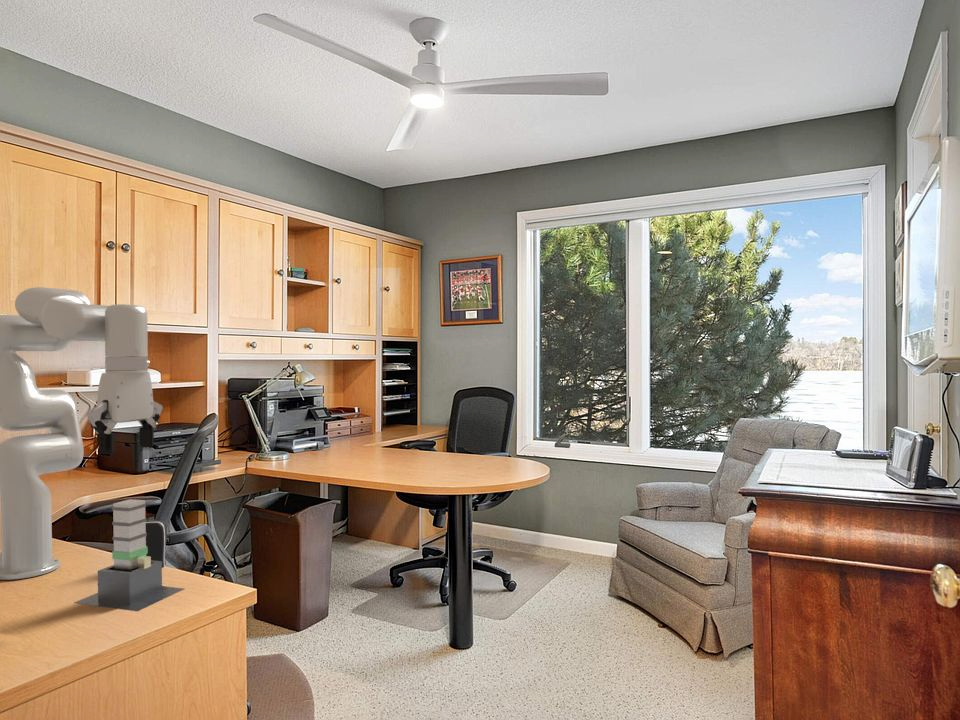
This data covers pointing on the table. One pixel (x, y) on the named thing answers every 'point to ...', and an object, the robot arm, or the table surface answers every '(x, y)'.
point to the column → (129, 533)
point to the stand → (130, 587)
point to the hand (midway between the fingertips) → (127, 450)
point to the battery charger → (156, 540)
